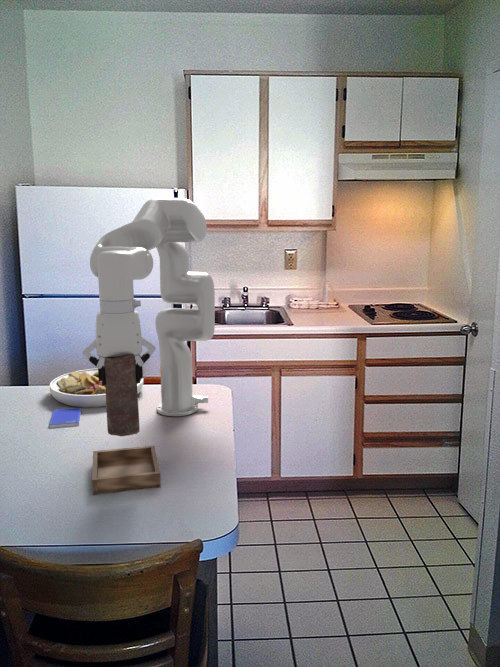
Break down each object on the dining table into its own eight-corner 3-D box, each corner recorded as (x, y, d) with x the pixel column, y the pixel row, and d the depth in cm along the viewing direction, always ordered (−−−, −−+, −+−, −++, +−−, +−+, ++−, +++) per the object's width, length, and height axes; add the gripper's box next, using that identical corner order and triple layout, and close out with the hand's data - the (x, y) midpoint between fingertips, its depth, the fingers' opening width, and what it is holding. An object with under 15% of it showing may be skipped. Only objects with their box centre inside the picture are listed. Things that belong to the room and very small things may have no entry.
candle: (132, 442, 142) (128, 357, 137) (102, 439, 143) (97, 355, 138) (144, 429, 149) (140, 348, 144) (115, 427, 150) (111, 347, 146)
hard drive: (79, 422, 179) (81, 407, 191) (49, 424, 178) (53, 409, 190) (79, 427, 180) (81, 412, 192) (49, 429, 178) (53, 414, 190)
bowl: (49, 415, 189) (47, 390, 187) (51, 385, 217) (49, 363, 215) (149, 405, 197) (148, 381, 195) (138, 378, 225) (137, 357, 223)
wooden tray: (155, 458, 158) (154, 445, 157) (160, 487, 142) (160, 473, 142) (94, 464, 154) (93, 451, 154) (93, 494, 139) (92, 480, 138)
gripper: (155, 302, 144) (157, 375, 148) (77, 305, 141) (82, 380, 145) (157, 308, 137) (160, 385, 141) (76, 311, 134) (81, 390, 138)
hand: (121, 382), depth 143 cm, fingers closed on candle, 7 cm apart
